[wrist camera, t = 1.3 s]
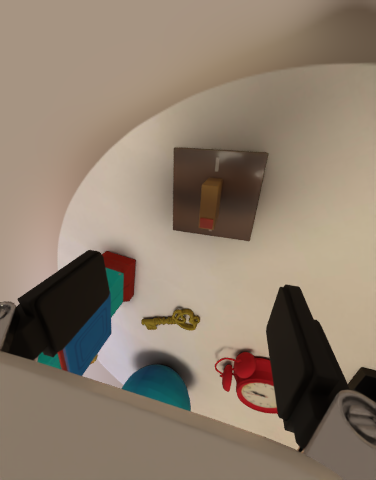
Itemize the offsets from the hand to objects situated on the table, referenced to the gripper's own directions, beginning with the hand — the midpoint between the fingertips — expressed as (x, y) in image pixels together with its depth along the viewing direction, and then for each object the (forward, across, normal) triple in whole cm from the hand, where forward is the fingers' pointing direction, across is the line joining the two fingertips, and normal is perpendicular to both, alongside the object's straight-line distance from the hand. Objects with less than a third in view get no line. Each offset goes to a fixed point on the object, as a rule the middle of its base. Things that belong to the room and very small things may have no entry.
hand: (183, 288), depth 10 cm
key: (+17, +6, +23) cm, 29 cm away
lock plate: (+17, 0, -1) cm, 17 cm away
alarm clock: (+17, -11, +32) cm, 38 cm away
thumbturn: (+15, 0, -1) cm, 15 cm away
